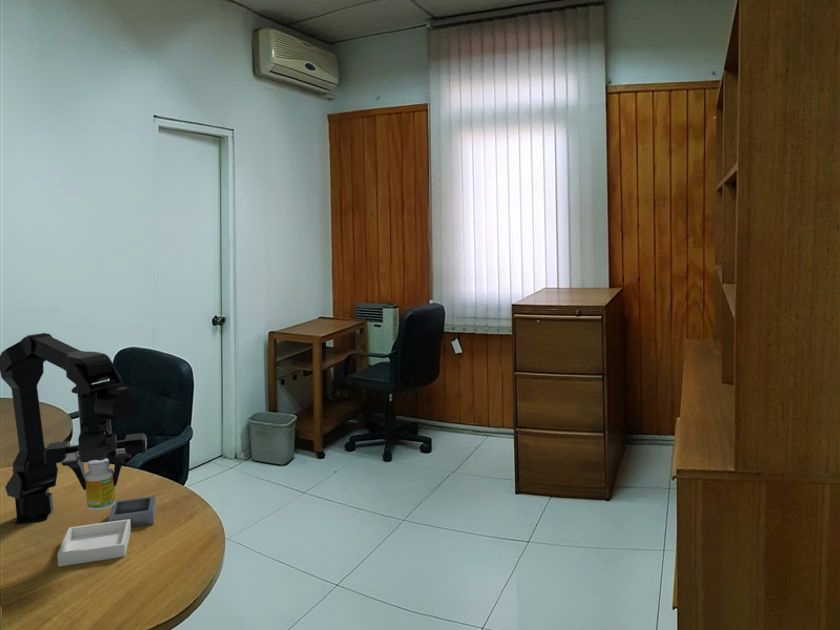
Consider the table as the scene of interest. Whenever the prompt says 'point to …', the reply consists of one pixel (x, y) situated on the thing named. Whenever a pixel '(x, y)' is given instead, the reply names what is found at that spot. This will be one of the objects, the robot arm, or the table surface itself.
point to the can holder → (134, 511)
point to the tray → (94, 542)
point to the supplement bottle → (100, 485)
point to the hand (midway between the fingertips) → (100, 487)
